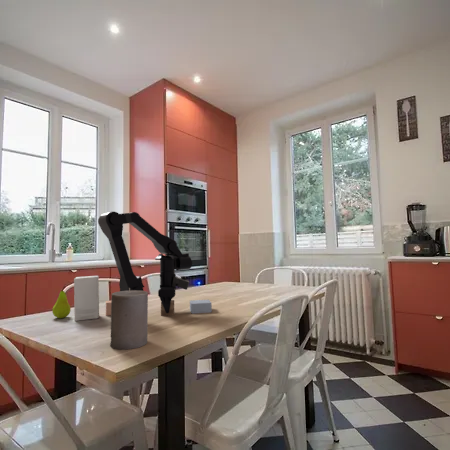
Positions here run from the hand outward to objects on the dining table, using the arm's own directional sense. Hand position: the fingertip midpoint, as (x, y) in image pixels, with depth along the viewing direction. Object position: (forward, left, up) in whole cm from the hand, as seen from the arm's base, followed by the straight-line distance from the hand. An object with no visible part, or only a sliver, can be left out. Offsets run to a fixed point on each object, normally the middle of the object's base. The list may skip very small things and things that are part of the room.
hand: (167, 311), depth 120 cm
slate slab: (+3, -13, -1) cm, 13 cm away
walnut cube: (0, 0, -1) cm, 1 cm away
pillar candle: (-36, +9, -1) cm, 37 cm away
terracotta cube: (+6, +22, -1) cm, 23 cm away
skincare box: (0, +30, -1) cm, 30 cm away
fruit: (+3, +40, -1) cm, 40 cm away
